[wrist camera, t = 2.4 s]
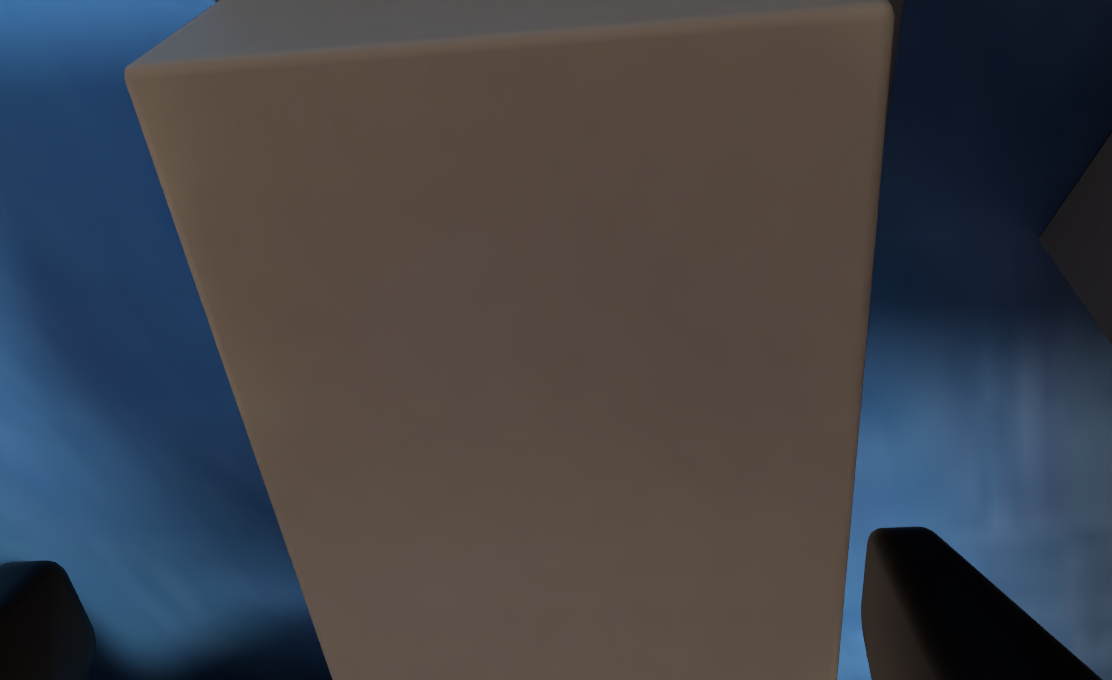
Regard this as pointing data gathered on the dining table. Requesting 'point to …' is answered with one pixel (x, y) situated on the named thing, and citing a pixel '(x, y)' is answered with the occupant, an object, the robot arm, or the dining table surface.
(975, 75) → the dining table surface
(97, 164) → the dining table surface
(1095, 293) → the perfume bottle
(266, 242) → the taupe flat block
